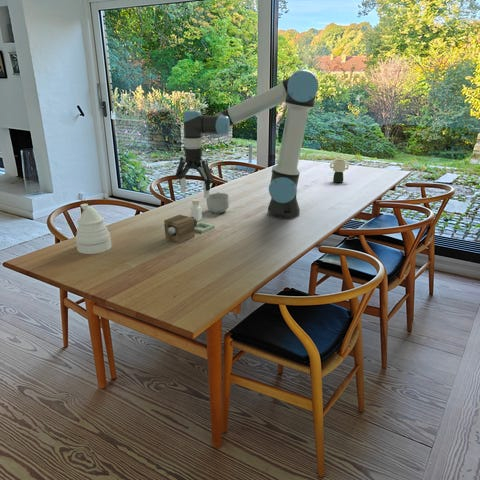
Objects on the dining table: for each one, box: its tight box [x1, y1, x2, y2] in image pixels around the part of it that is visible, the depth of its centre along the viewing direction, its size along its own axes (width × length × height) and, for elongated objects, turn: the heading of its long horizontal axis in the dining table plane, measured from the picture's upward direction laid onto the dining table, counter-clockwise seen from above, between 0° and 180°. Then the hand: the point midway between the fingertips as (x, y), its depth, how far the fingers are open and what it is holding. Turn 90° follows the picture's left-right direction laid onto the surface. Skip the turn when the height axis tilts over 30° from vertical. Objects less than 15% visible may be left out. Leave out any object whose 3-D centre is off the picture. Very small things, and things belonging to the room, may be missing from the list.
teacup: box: [205, 191, 230, 214], centre depth 218 cm, size 14×11×8 cm
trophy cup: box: [329, 158, 350, 183], centre depth 268 cm, size 11×7×13 cm, turn 64°
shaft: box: [168, 217, 198, 235], centre depth 185 cm, size 5×14×5 cm, turn 145°
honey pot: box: [75, 203, 112, 255], centre depth 173 cm, size 13×13×18 cm
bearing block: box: [163, 214, 196, 244], centre depth 184 cm, size 8×9×8 cm
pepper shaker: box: [190, 198, 203, 222], centre depth 205 cm, size 4×4×10 cm
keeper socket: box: [194, 221, 215, 234], centre depth 195 cm, size 8×8×1 cm
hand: (194, 194), depth 202 cm, fingers open, 13 cm apart
